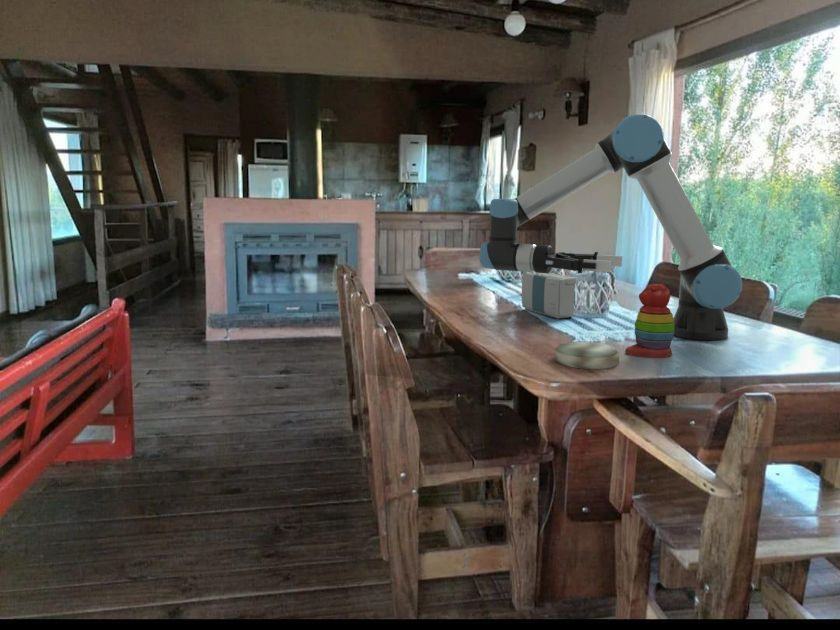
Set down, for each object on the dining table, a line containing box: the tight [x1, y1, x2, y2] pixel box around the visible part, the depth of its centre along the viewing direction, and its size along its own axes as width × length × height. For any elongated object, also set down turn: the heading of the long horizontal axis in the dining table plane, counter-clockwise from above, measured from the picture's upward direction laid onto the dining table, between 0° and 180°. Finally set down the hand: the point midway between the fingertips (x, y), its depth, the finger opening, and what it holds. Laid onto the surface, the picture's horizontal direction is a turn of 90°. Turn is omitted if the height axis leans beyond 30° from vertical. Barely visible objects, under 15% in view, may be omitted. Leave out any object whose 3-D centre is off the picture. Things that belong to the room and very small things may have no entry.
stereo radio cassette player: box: [521, 267, 578, 320], centre depth 213 cm, size 21×8×20 cm, turn 24°
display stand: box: [554, 341, 620, 370], centre depth 155 cm, size 15×15×3 cm
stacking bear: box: [624, 282, 675, 359], centre depth 160 cm, size 11×10×18 cm
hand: (616, 264), depth 163 cm, fingers open, 13 cm apart
